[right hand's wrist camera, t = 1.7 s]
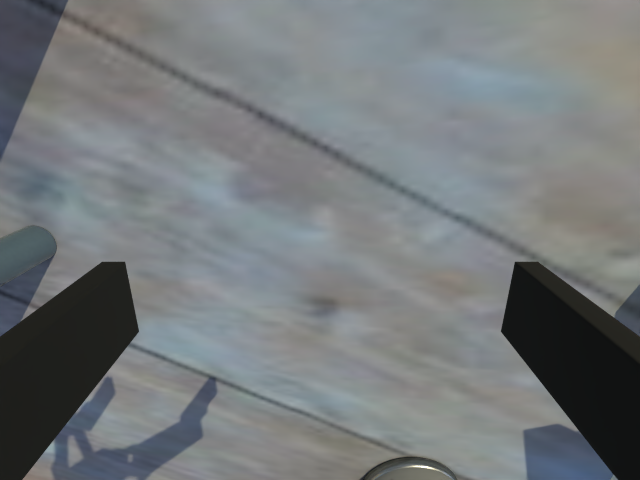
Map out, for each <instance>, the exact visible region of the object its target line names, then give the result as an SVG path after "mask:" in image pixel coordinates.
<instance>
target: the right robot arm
mask: <svg viewBox="0 0 640 480" xmlns="http://www.w3.org/2000/svg"><path fill="white" fill-rule="evenodd" d="M138 332H139V329H138V324H137V319H136V314H135V309H134V304H133V299H132V294H131V289H130V284H129V279H128V275H127V270H126V265H125V262H101V263H100V264H99V265H97V266H96V267H95V268H93V269H92V270H90V271H89V272H88V273H86V274H85V275H84V276H82V277H81V278H80V279H78V280H77V281H75V282H74V283H73V284H71V285H70V286H69V287H67V288H66V289H65V290H63V291H62V292H61V293H59V294H58V295H56V296H55V297H54V298H52V299H51V300H50V301H48V302H47V303H46V304H44V305H43V306H41V307H40V308H39V309H37V310H36V311H35V312H33V313H32V314H31V315H29V316H28V317H26V318H25V319H24V320H22V321H21V322H20V323H18V324H17V325H16V326H14V327H13V328H12V329H10V330H9V331H7V332H6V333H5V334H3V335H2V336H1V337H0V480H22V479H23V478H24V477H25V476H26V474H27V473H28V472H29V470H30V469H31V468H32V467H33V465H34V464H35V463H36V462H37V460H38V459H39V458H40V456H41V455H42V454H43V453H44V451H45V450H46V449H47V448H48V446H49V445H50V444H51V443H52V441H53V440H54V439H55V437H56V436H57V435H58V434H59V432H60V431H61V430H62V429H63V427H64V426H65V425H66V423H67V422H68V421H69V420H70V418H71V417H72V416H73V415H74V413H75V412H76V411H77V410H78V408H79V407H80V406H81V404H82V403H83V402H84V401H85V399H86V398H87V397H88V396H89V394H90V393H91V392H92V391H93V389H94V388H95V387H96V385H97V384H98V383H99V382H100V380H101V379H102V378H103V377H104V375H105V374H106V373H107V371H108V370H109V369H110V368H111V366H112V365H113V364H114V363H115V361H116V360H117V359H118V358H119V356H120V355H121V354H122V352H123V351H124V350H125V349H126V347H127V346H128V345H129V344H130V342H131V341H132V340H133V338H134V337H135V336H136V335H137V333H138ZM501 332H502V333H503V335H504V336H505V337H506V338H507V340H508V341H509V342H510V344H511V345H512V346H513V347H514V349H515V350H516V351H517V352H518V354H519V355H520V356H521V358H522V359H523V360H524V361H525V363H526V364H527V365H528V366H529V368H530V369H531V370H532V371H533V373H534V374H535V375H536V377H537V378H538V379H539V380H540V382H541V383H542V384H543V385H544V387H545V388H546V389H547V391H548V392H549V393H550V394H551V396H552V397H553V398H554V399H555V401H556V402H557V403H558V404H559V406H560V407H561V408H562V410H563V411H564V412H565V413H566V415H567V416H568V417H569V418H570V420H571V421H572V422H573V423H574V425H575V426H576V427H577V429H578V430H579V431H580V432H581V434H582V435H583V436H584V437H585V439H586V440H587V441H588V443H589V444H590V445H591V446H592V448H593V449H594V450H595V451H596V453H597V454H598V455H599V456H600V458H601V459H602V460H603V462H604V463H605V464H606V465H607V467H608V468H609V469H610V470H611V472H612V473H613V474H614V476H615V477H616V478H617V479H618V480H640V337H639V336H638V335H637V334H635V333H634V332H633V331H631V330H630V329H628V328H627V327H626V326H624V325H623V324H622V323H620V322H619V321H618V320H616V319H615V318H614V317H612V316H611V315H609V314H608V313H607V312H605V311H604V310H603V309H601V308H600V307H599V306H597V305H596V304H594V303H593V302H592V301H590V300H589V299H588V298H586V297H585V296H584V295H582V294H581V293H579V292H578V291H577V290H575V289H574V288H573V287H571V286H570V285H569V284H567V283H566V282H565V281H563V280H562V279H560V278H559V277H558V276H556V275H555V274H554V273H552V272H551V271H550V270H548V269H547V268H545V267H544V266H543V265H541V264H540V263H539V262H515V265H514V270H513V275H512V279H511V284H510V289H509V294H508V299H507V304H506V309H505V314H504V319H503V324H502V329H501ZM363 480H457V478H456V477H455V475H454V474H453V473H452V471H451V470H449V469H448V468H447V467H446V466H444V465H442V464H441V463H439V462H436V461H433V460H430V459H426V458H418V457H407V458H400V459H395V460H391V461H388V462H386V463H383V464H381V465H379V466H378V467H376V468H374V469H373V470H372V471H370V472H369V473H368V474H367V475H366V476H365V478H364V479H363Z"/></svg>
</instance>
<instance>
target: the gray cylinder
mask: <svg viewBox="0 0 640 480" xmlns="http://www.w3.org/2000/svg"><path fill="white" fill-rule="evenodd" d="M55 252H56V242H55V239H54V238H53V236H52V235H51V234H50V233H49V232H48V231H47V230H45V229H44V228H41V227H38V226H27V227H25V228H22V229H20V230H18V231H15V232H13V233H11V234H8V235H6V236H4V237H1V238H0V287H1V286H3V285H5V284H6V283H8V282H10V281H11V280H13V279H15V278H17V277H18V276H20V275H22V274H24V273H25V272H27V271H29V270H30V269H32V268H34V267H36V266H37V265H39V264H41V263H43V262H44V261H46V260H48V259H49V258H51V257H52V256H53V255H54V254H55Z"/></svg>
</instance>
